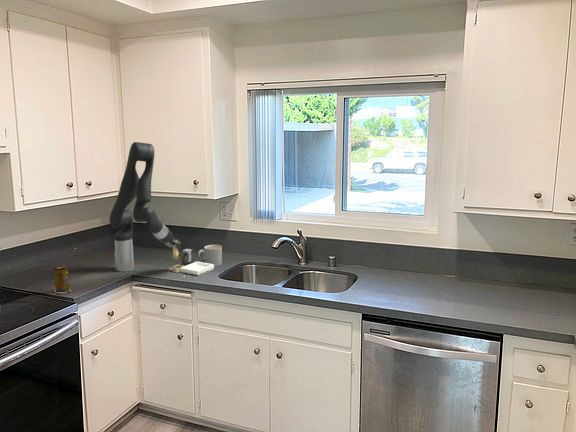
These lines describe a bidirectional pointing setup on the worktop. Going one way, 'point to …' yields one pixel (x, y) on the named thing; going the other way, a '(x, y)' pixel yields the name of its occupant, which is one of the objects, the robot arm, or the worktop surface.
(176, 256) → the pin
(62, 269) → the condiment
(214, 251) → the coffee mug
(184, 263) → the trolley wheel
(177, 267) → the stop block
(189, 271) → the tray
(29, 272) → the worktop surface
